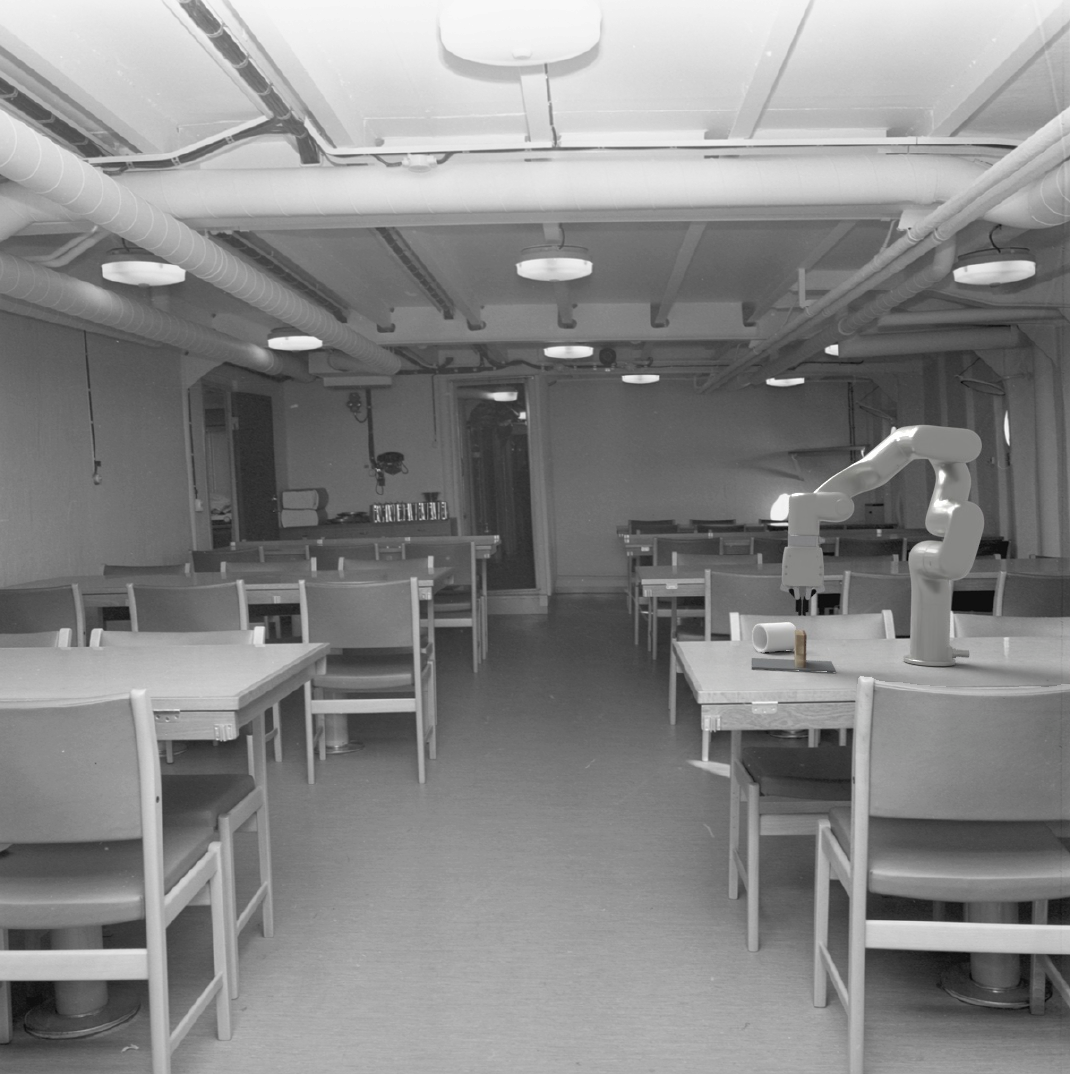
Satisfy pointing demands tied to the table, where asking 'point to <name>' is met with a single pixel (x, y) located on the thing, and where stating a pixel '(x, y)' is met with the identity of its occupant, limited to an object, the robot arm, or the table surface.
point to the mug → (773, 637)
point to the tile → (800, 648)
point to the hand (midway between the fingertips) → (801, 614)
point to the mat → (791, 665)
